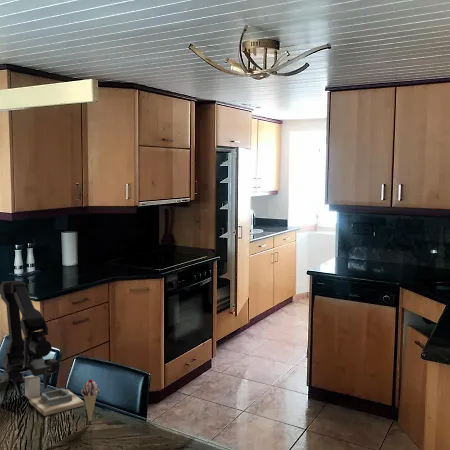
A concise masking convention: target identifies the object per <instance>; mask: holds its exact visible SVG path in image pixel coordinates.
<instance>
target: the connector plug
mask: <svg viewBox="0 0 450 450" xmlns="http://www.w3.org/2000/svg"><path fill="white" fill-rule="evenodd" d="M24 378H25V382H24V396H25V397H26V398H27V399H28V400H29V398H32V397H36V396H40V395H41V377H40V375H38V376H33V375H32V374H31V375H27V376H24Z"/></svg>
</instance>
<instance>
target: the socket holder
mask: <svg viewBox="0 0 450 450" xmlns="http://www.w3.org/2000/svg"><path fill="white" fill-rule="evenodd" d="M28 403H30V405H31V406H32V407H33V408H35V409H36V410H37V411H38V412H39V413H40V414H41V415H42V416H43V417H46V416H50V415H53V414H54V415H55V414H57V413H62V412H64V411H68V410H73V409H77V408H79V407H83V406H85V400H84V399H83V400H82V399H81V398H80V396H79V397H78V396H77V395H76V394H75V393H73V392H72V391H71V390H69V389H67V388H66V389H65V388H63V387H62V388H57V389H54V390H49V391H46V392H40V396H36V397H32V398H29V399H28Z"/></svg>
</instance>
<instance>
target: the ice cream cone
mask: <svg viewBox="0 0 450 450" xmlns="http://www.w3.org/2000/svg"><path fill="white" fill-rule="evenodd" d="M80 392H81V393H80V394H81V395H82V396H83V401H84V406H85V409H86V413H87V414H86V415H87V419H88V424H89V425H91V422H92V417H93V414H94V409H95V404H96V399H97V396H98V394H99V393H100V388H99V387H98V384H97V382H96V381H94V380H92V379H89V380H88V381H85V383H84V384H83V386H82V389H81V390H80Z"/></svg>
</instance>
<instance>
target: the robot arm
mask: <svg viewBox="0 0 450 450" xmlns="http://www.w3.org/2000/svg"><path fill="white" fill-rule="evenodd" d="M27 288H28V287H27V283H26V282H23V281H20V280H11V281H10V280H8V281H2V282H1V284H0V299H1V300H2V301H3V302H4V303H5V305H6V307H5V308H6V315H7V316H6V317H7V319H6V320H7V325H8V326H7V327H8V330H7V331H8V339H9V340H8V341H9V342H8V344H7V346H6V348H5V354H4V356H3V358H2V360H1V362H2V364H1V365H2V367H3V368H4V369H3V376H4V377H5V378H4V381H5V382H6V383H7V384H8V385H9V386H10V385H11V386H12V385H14V387H15V390H16V392H17V395H19V396H21V393H22V390H21V383H25V376H24V374H25V373H26V374H27V373H30V372H31V375H33V376H42V375H43V376H42V377H43V380H42V381H43V389H44V390H47V387H48V385H49V382H50V379H51V377H52V376H53V374H54V373H57V371H59V370H60V369H61V362H60V361H59V360H57V359H56V358H47V359H44V357H47V356H48V355H50V353H51V351H52V349H53V347H52V344H51V342H50V341H48V340H47V337H46V336H47V335H49V333H48V332H49V328H48V325H47V322H46V320H45V318H44V316H43V315H42V313H41V311H40V310H37V309H36V308H35V307H34V303H33V301H32V299H31V297H30V294H29V292H28V290H27ZM23 336H24V337H23Z"/></svg>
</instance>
